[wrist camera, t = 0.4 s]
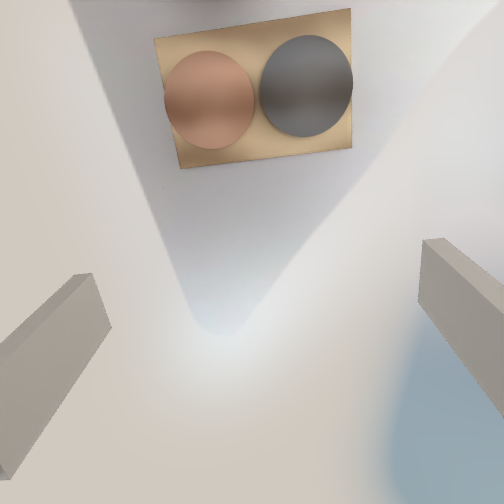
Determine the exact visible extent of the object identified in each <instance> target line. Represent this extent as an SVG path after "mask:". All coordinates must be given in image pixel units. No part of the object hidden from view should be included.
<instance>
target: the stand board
mask: <svg viewBox="0 0 504 504" xmlns="http://www.w3.org/2000/svg"><path fill="white" fill-rule="evenodd" d="M154 43H155V48H156V53H157V57H158V62H159V67H160V72H161V77H162V82H163V87H164V91H165V95H164V99H165V108H166V112H167V115H168V118H169V120H170V122H171V125H172V130H173V135H174V140H175V145H176V150H177V155H178V160H179V164H180V169H184V168H192V167H200V166H208V165H216V164H224V163H233V162H241V161H249V160H257V159H265V158H273V157H281V156H289V155H298V154H306V153H314V152H322V151H330V150H338V149H346V148H352V99H351V96H352V90H353V76H352V71H351V8H348V9H341V10H335V11H329V12H322V13H316V14H310V15H303V16H297V17H290V18H284V19H278V20H271V21H265V22H259V23H252V24H246V25H240V26H233V27H227V28H221V29H214V30H208V31H201V32H195V33H189V34H182V35H176V36H170V37H163V38H157V39H154Z"/></svg>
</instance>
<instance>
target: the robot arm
mask: <svg viewBox="0 0 504 504" xmlns="http://www.w3.org/2000/svg"><path fill="white" fill-rule="evenodd" d="M418 303H419V304H420V305H421V307H422V308H423V310H424V311H425V312H426V314H427V315H428V316H429V318H430V319H431V320H432V322H433V323H434V324H435V326H436V327H437V328H438V330H439V331H440V333H441V334H442V335H443V337H444V338H445V339H446V341H447V342H448V343H449V345H450V346H451V347H452V349H453V350H454V351H455V353H456V354H457V355H458V357H459V358H460V360H461V361H462V362H463V364H464V365H465V366H466V368H467V369H468V370H469V372H470V373H471V375H472V376H473V377H474V379H475V380H476V381H477V383H478V384H479V385H480V387H481V388H482V389H483V391H484V392H485V393H486V395H487V396H488V398H489V399H490V400H491V401H492V403H493V404H494V406H495V407H496V408H497V410H498V411H499V412H500V414H501V415H502V416H503V418H504V285H502V284H501V283H500V282H499V281H497V280H496V279H495V278H494V277H492V276H491V275H490V274H489V273H487V272H486V271H485V270H484V269H482V268H481V267H480V266H478V265H477V264H476V263H475V262H474V261H472V260H471V259H470V258H469V257H467V256H466V255H465V254H464V253H462V252H461V251H460V250H458V249H457V248H456V247H455V246H453V245H452V244H451V243H450V242H448V241H447V240H446V239H445V238H438V239H428V240H423V244H422V257H421V269H420V281H419V294H418ZM111 328H112V327H111V325H110V322H109V319H108V316H107V313H106V311H105V308H104V305H103V302H102V300H101V297H100V294H99V291H98V288H97V285H96V283H95V280H94V277H93V274H92V273H88V274H78V275H74V276H73V277H72V278H70V280H68V281H67V282H66V283H65V284H64V285H63V286H62V287H61V288H60V289H59V290H58V291H57V292H55V293H54V294H53V295H52V296H51V297H50V298H49V299H48V300H47V301H46V302H45V303H44V304H43V305H42V306H40V307H39V308H38V309H37V310H36V311H35V312H34V313H33V314H32V315H31V316H30V317H29V318H27V319H26V320H25V321H24V322H23V323H22V324H21V325H20V326H19V327H18V328H17V329H16V330H15V331H14V332H13V333H11V334H10V335H9V336H8V337H7V338H6V339H5V340H4V341H3V342H2V343H1V344H0V480H10V479H11V478H12V476H13V475H14V473H15V472H16V470H17V469H18V467H19V466H20V464H21V463H22V462H23V460H24V459H25V457H26V455H27V454H28V452H29V451H30V450H31V448H32V447H33V445H34V443H35V442H36V440H37V439H38V438H39V436H40V435H41V433H42V431H43V430H44V428H45V427H46V426H47V424H48V423H49V421H50V420H51V418H52V416H53V415H54V414H55V412H56V411H57V409H58V408H59V406H60V404H61V403H62V401H63V400H64V399H65V397H66V396H67V394H68V393H69V391H70V390H71V388H72V386H73V385H74V384H75V382H76V381H77V379H78V377H79V376H80V375H81V373H82V371H83V370H84V369H85V367H86V366H87V364H88V363H89V361H90V360H91V358H92V357H93V355H94V354H95V352H96V351H97V349H98V348H99V346H100V345H101V343H102V341H103V340H104V338H105V337H106V336H107V334H108V333H109V331H110V330H111Z"/></svg>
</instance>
